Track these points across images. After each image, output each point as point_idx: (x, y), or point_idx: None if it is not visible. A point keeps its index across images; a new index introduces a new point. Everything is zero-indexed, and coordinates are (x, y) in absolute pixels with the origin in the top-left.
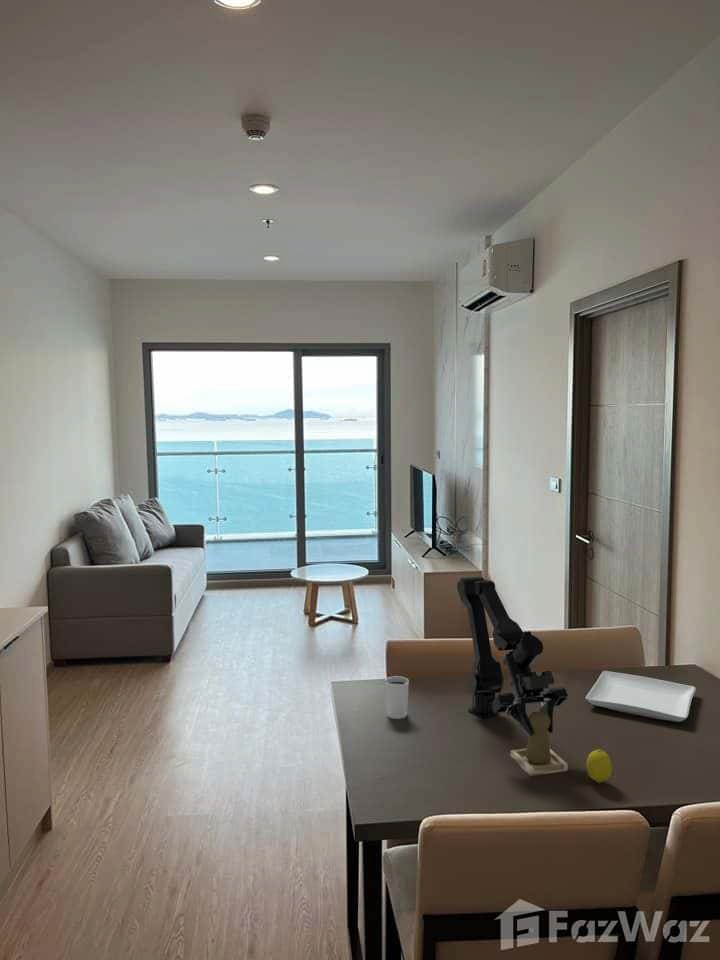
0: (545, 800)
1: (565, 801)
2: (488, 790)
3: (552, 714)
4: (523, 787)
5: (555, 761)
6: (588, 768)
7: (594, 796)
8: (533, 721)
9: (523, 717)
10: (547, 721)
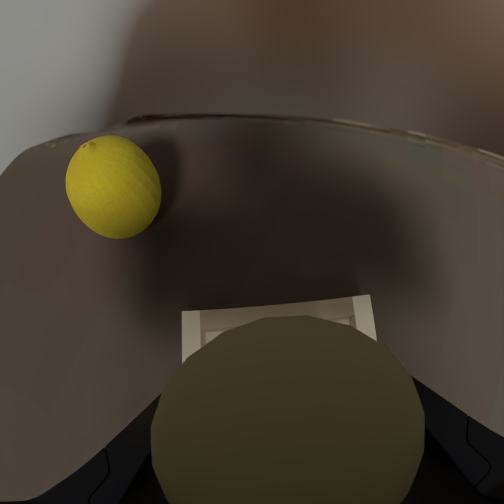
0: (354, 158)
1: (298, 146)
2: (492, 234)
3: (86, 466)
4: (403, 231)
5: None
6: (156, 184)
7: (201, 158)
8: (405, 371)
9: (492, 431)
10: (229, 330)
